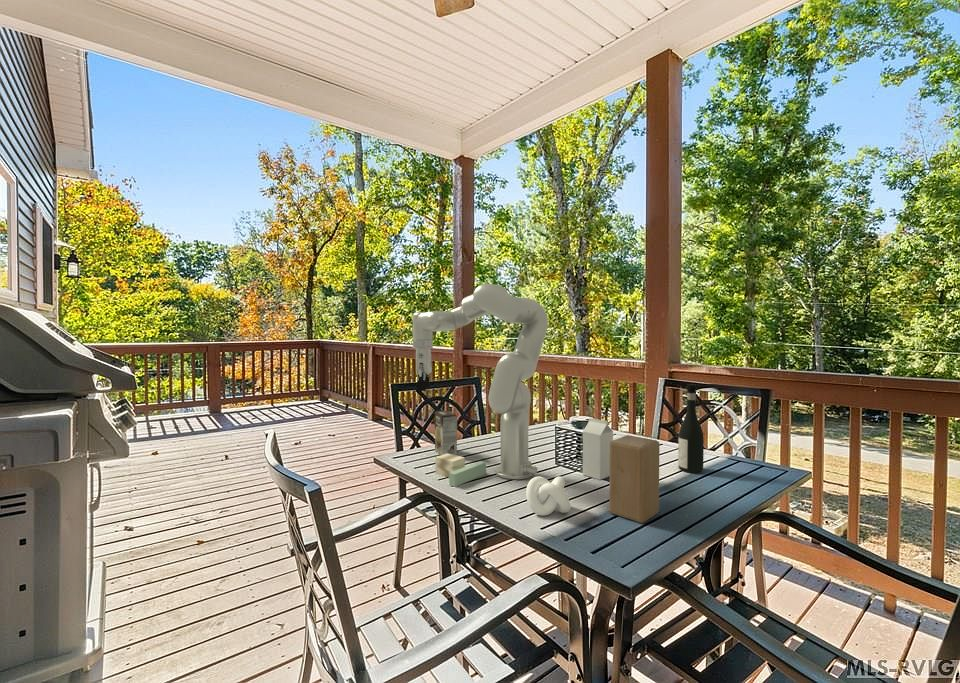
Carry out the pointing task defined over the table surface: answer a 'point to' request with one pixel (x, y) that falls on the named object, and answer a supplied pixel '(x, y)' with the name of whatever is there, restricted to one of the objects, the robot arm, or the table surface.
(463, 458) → the birch block
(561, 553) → the table surface
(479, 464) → the board
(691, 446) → the wine bottle
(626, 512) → the wooden block
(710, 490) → the table surface
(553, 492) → the white knot
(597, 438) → the milk carton
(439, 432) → the coffee box
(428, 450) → the table surface
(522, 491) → the table surface
